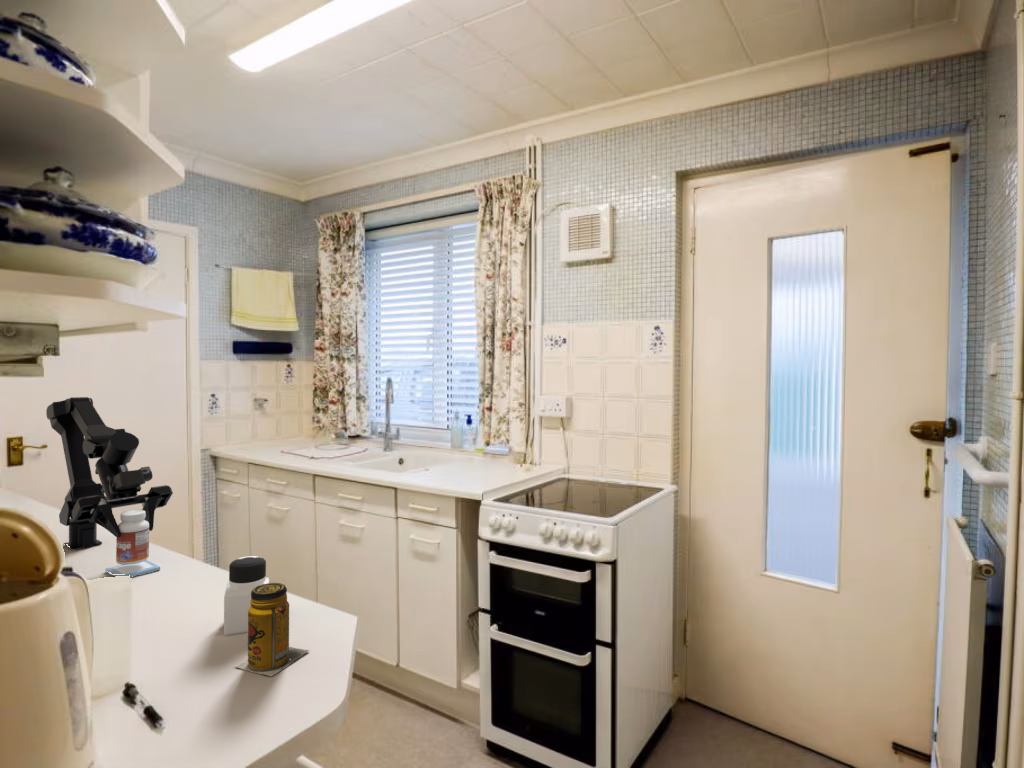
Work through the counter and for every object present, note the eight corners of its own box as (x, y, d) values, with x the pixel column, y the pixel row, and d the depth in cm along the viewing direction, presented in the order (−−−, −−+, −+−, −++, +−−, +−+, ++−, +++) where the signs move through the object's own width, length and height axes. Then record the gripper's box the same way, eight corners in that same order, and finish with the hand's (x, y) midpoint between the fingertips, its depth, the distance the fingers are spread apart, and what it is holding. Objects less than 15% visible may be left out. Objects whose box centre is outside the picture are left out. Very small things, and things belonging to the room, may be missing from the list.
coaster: (105, 572, 126) (105, 568, 126) (145, 562, 133) (145, 558, 133) (120, 580, 122) (120, 576, 122) (160, 570, 128) (160, 566, 128)
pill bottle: (109, 563, 126) (109, 513, 125) (136, 554, 131) (136, 507, 131) (128, 567, 123) (128, 517, 123) (155, 558, 129) (155, 510, 129)
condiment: (234, 668, 88) (235, 592, 87) (275, 643, 96) (276, 574, 95) (271, 678, 85) (272, 599, 85) (309, 652, 93) (310, 580, 93)
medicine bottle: (268, 630, 100) (269, 563, 100) (223, 636, 98) (224, 568, 97) (268, 613, 107) (269, 551, 107) (226, 619, 104) (227, 555, 104)
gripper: (77, 461, 121) (97, 521, 115) (169, 451, 136) (191, 504, 131) (63, 491, 126) (82, 551, 120) (154, 479, 141) (174, 531, 135)
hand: (135, 533), depth 126 cm, fingers closed on pill bottle, 6 cm apart
